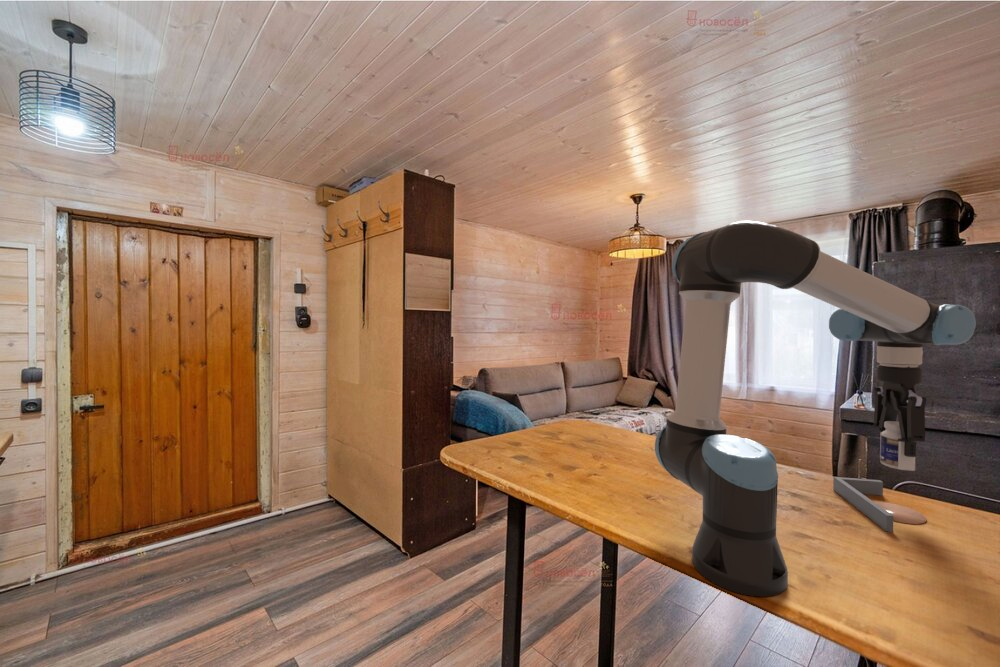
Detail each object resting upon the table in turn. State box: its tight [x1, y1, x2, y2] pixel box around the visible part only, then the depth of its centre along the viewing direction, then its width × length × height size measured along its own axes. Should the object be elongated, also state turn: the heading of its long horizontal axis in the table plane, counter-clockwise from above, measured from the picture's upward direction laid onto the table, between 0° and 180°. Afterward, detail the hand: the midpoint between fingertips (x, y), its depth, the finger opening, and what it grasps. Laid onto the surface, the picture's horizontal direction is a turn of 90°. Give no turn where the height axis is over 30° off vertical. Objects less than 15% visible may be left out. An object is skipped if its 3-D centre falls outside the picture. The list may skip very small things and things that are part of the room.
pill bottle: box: [879, 420, 902, 470], centre depth 95 cm, size 6×6×10 cm
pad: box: [874, 501, 927, 525], centre depth 96 cm, size 10×10×1 cm
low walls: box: [832, 476, 894, 533], centre depth 97 cm, size 22×10×4 cm, turn 165°
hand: (896, 464), depth 95 cm, fingers closed on pill bottle, 6 cm apart
